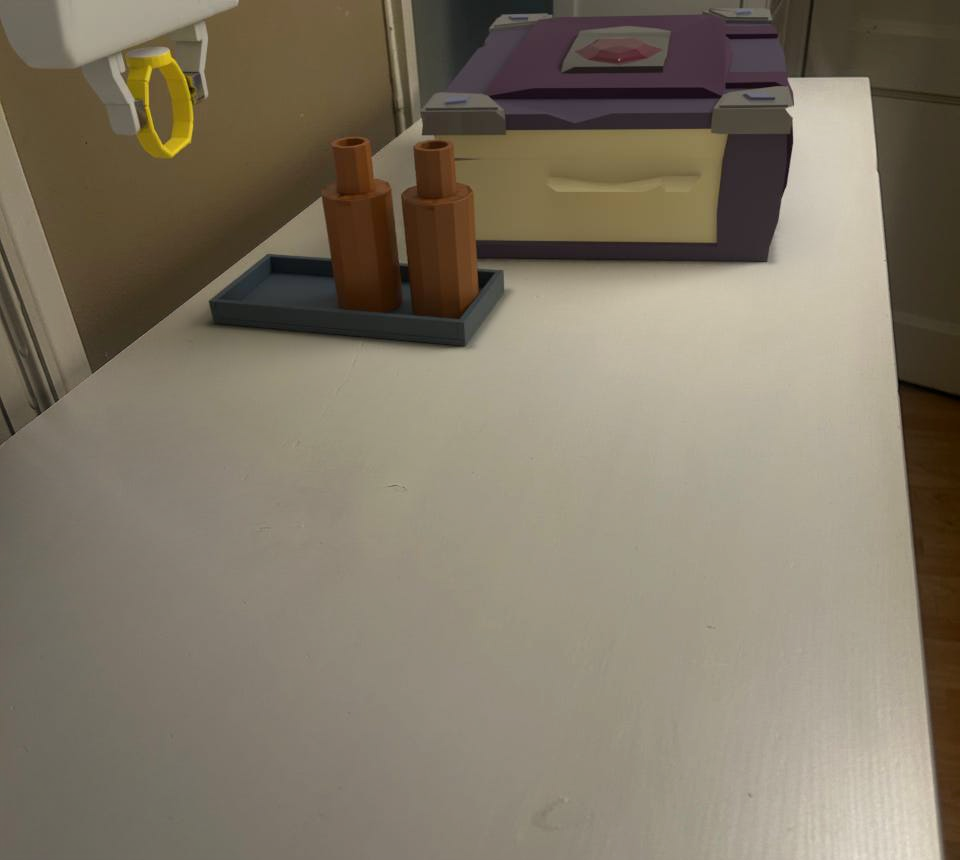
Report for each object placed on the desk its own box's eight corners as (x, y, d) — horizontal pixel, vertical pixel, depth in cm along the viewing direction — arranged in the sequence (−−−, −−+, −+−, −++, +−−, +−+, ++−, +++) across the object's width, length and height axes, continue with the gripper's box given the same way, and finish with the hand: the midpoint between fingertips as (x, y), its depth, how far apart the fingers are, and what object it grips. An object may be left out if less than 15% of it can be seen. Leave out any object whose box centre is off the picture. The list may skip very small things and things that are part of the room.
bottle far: (404, 325, 83) (386, 154, 74) (426, 299, 87) (412, 133, 78) (466, 331, 81) (456, 157, 73) (486, 304, 85) (478, 135, 76)
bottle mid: (329, 319, 85) (302, 151, 76) (354, 293, 89) (332, 131, 80) (389, 324, 83) (369, 153, 74) (412, 298, 87) (395, 133, 78)
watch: (173, 139, 68) (150, 40, 64) (210, 140, 67) (189, 40, 63) (131, 165, 64) (104, 61, 60) (170, 166, 63) (145, 61, 59)
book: (765, 129, 121) (783, -5, 112) (788, 266, 88) (816, 92, 79) (501, 131, 127) (496, 3, 117) (429, 261, 94) (415, 97, 84)
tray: (213, 323, 85) (208, 300, 84) (271, 274, 93) (267, 253, 92) (465, 346, 79) (464, 322, 78) (504, 292, 87) (503, 269, 86)
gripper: (152, -165, 63) (202, 78, 72) (-73, -139, 49) (25, 159, 58) (239, -169, 61) (278, 80, 70) (32, -143, 47) (116, 165, 56)
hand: (163, 117), depth 64 cm, fingers closed on watch, 6 cm apart
